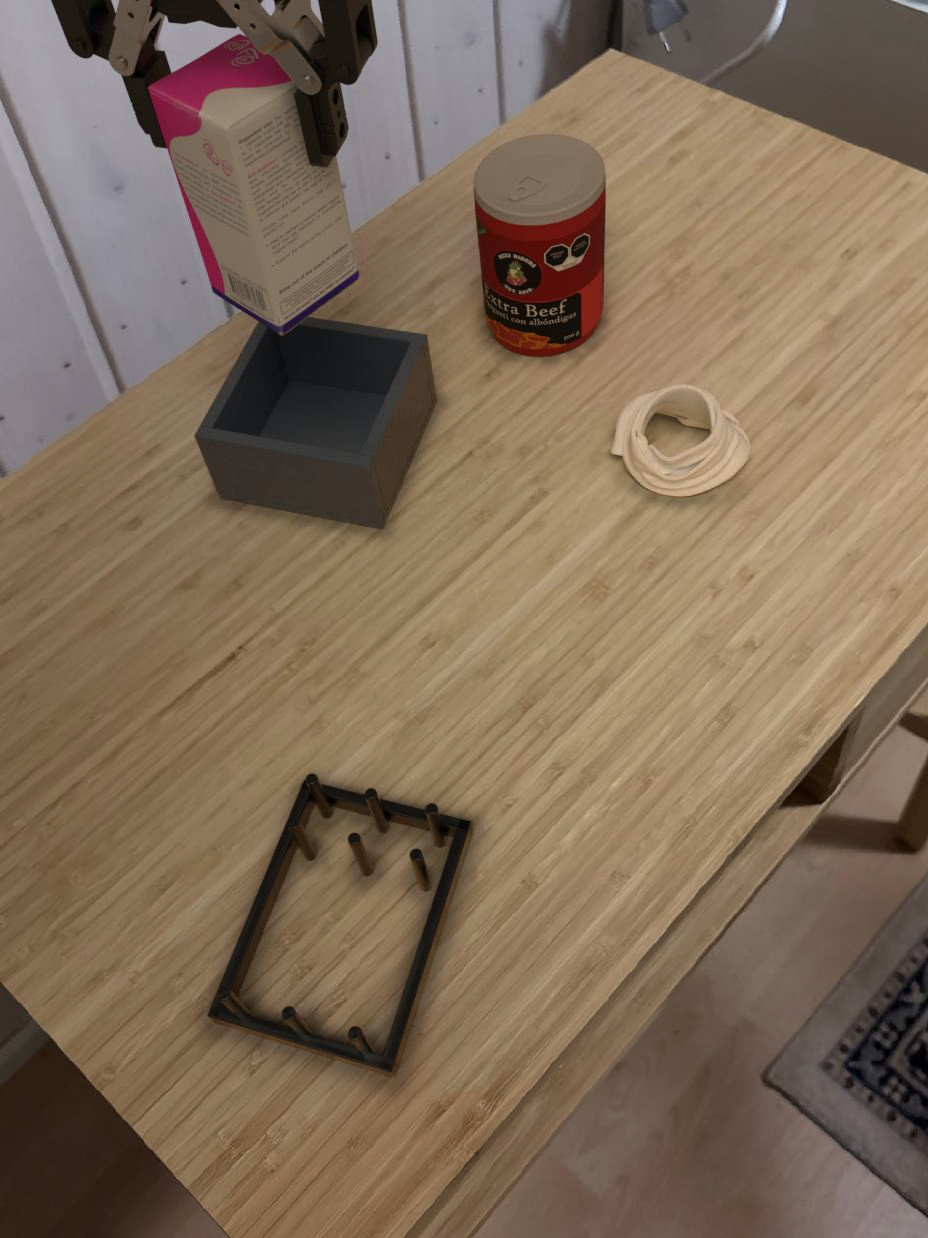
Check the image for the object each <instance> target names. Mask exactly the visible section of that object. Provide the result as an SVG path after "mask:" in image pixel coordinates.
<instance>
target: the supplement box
mask: <svg viewBox="0 0 928 1238" xmlns="http://www.w3.org/2000/svg"><path fill="white" fill-rule="evenodd" d="M297 89H298V87H297V86H296V85H295V83H294V82H293V81H292V80H291V78H290V77H289V76H288V75H287V73H286V72H285V71H284V70H283V69H282V67H281V66H280V65H279V64H278V62H277V61H276V60H275V59H274V58H273V57H272V56H271V55H264V54H261V53H260V52H259V51H258V50H257V49H256V48H255V47H254V45H253V44H252V43H251V42H250V41H249V39H248V38H247V37H246V36H245V34H243V33H238V34H235V35H234V36H232V37H230V38H228V39H227V40H225V41H223V42H222V43H219V45H217V46H215V47H213V48H212V49H210V50H209V51H207V52H205V53H204V54H203V55H201V56H199V57H197V58H196V59H193V60H192V61H191V62H189V63H187V64H185V65H183V66H182V67H180V68H178V69H176V70H174V71H172V72H171V74H169V75H167V76H166V77H164V78H162V79H160V80H158V81H157V82H155V83H153V84H151V85H150V86H149V87H148V90H149V94H150V97H151V100H152V103H153V106H154V109H155V112H156V115H157V118H158V122H159V125H160V128H161V131H162V134H163V137H164V140H165V143H166V147H167V148H166V150H167V152H168V156H169V159H170V162H171V165H172V168H173V172H174V175H175V176H176V177H175V178H176V180H177V184H178V186H179V190H180V192H181V197H182V199H183V202H184V205H185V208H186V211H187V215H188V218H189V220H190V224H191V227H192V230H193V233H194V237H195V239H196V243H197V245H198V248H199V249H198V250H199V251H200V255H201V258H202V261H203V264H204V267H205V270H206V271H205V272H206V273H207V276H208V281H209V284H210V287H211V291H212V293H213V294H214V295H216V296H218V297H219V298H221V299H222V300H224V301H225V302H227V303H228V304H231V305H232V306H233V307H234V308H236V309H237V310H239V311H241V312H242V313H244V314H246V315H247V316H249V317H251V318H253V319H254V320H255V321H257V322H260V323H262V324H263V325H265V326H267V327H268V328H270V329H271V330H273V331H275V332H276V333H277V334H279V335H281V336H283V335H284V334H285V333H287V332H289V331H290V330H291V329H293V328H294V327H295V326H297V325H298V324H299V323H301V322H302V321H303V320H304V319H306V318H307V317H311V316H312V314H313V313H315V312H317V311H318V310H319V309H320V308H322V307H323V306H324V305H326V304H327V303H328V302H330V301H331V300H332V299H334V298H335V297H337V296H338V295H339V294H341V293H342V292H344V291H345V290H347V289H348V288H349V287H350V286H352V285H353V284H354V283H355V282H357V280H359V278H360V272H359V266H358V261H357V255H356V251H355V245H354V239H353V235H352V229H351V223H350V220H349V215H348V209H347V204H346V199H345V193H344V189H343V184H342V179H341V174H340V169H339V168H340V167H339V162H338V159H337V158H338V157H337V155H336V156H334V157H333V159H332V161H331V163H330V164H329V166H328V167H327V168H325V167H316V166H311V165H310V163H309V160H308V155H307V151H306V146H305V142H304V138H303V133H302V129H301V124H300V120H299V115H298V111H297V106H296V102H295V98H294V93H295V92H296V90H297Z"/></svg>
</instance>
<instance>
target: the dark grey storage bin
mask: <svg viewBox="0 0 928 1238" xmlns="http://www.w3.org/2000/svg"><path fill="white" fill-rule="evenodd" d="M429 344H430V343H429V339H428V334H426V333H419V332H413V331H407V330H399V329H392V328H386V327H379V326H373V325H365V324H358V323H353V322H352V323H351V322H345V321H338V320H332V319H325V318H317V317H313V316H312V317H311V316H308V317H307V318H306V319H304V320H303V321H302V322H301V323H299V324H298V325H297V326H295V327H294V328H293V329H291V330H290V331H289V332H287V333H285V334H284V335H283V336H281V335H279V334H277V333H276V332H275V331H273V330H271V329H270V328H268V327H267V326H265V325H263V324H262V323H260V322H259V321H257V323H256V325H255V327H254V328H253V330H252V332H251V334H250V336H249V337H248V339H247V341H246V343H245V344H244V346H243V348H242V350H241V352H240V354H239V355H238V357H237V358H236V360H235V363H234V364H233V366H232V368H231V369H230V371H229V373H228V375H227V376H226V378H225V380H224V382H223V384H222V385H221V387H220V389H219V391H218V393H217V394H216V396H215V398H214V399H213V401H212V403H211V405H210V407H209V408H208V410H207V412H206V413H205V415H204V417H203V418H202V420H201V422H200V425H199V426H198V428H197V429H196V432H194V433H195V434H194V439H195V442H196V444H197V446H198V448H199V452H200V454H201V456H202V459H203V460H204V463H205V465H206V468H207V471H208V473H209V475H210V478H211V480H212V482H213V486H214V488H215V490H216V492H217V495H218V497H219V499H223V500H227V501H233V502H238V503H243V504H248V505H253V506H259V507H264V508H269V509H275V510H279V511H285V512H290V513H295V514H301V515H306V516H311V517H315V518H321V519H326V520H332V521H337V522H342V523H348V524H353V525H357V526H362V527H367V528H373V529H378V530H383V529H384V527H385V524H386V522H387V520H388V518H389V515H390V513H391V511H392V508H393V506H394V504H395V501H396V499H397V497H398V494H399V491H400V490H401V487H402V485H403V482H404V480H405V478H406V475H407V473H408V471H409V468H410V466H411V464H412V461H413V459H414V457H415V454H416V451H417V449H418V447H419V445H420V443H421V440H422V438H423V435H424V433H425V430H426V428H427V426H428V424H429V421H430V419H431V416H432V415H433V412H434V409H435V407H436V404H437V402H438V397H437V392H436V385H435V378H434V377H435V376H434V371H433V365H432V359H431V357H432V356H431V352H430V351H431V350H430V345H429Z"/></svg>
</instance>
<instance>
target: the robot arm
mask: <svg viewBox="0 0 928 1238" xmlns="http://www.w3.org/2000/svg"><path fill="white" fill-rule="evenodd" d="M263 1H264V0H118V4H117V6H116V7H117V8H116V10H115V7H114V4H113V1H112V0H50V2H51V4H52V6H53V9H54V12H55V14H56V16H57V19H58V22H59V24H60V27H61V30H62V32H63V35H64V37H65V40H66V43H67V45H68V47H69V49H70V50H71V51H72V53H73V54H74V55H76V56H77V57H79V58H81V59H85V60H87V59H90V58H92V57H93V55H94V56H96V57H98V58H101V59H103V60H105V61H107V62H109V64H110V66H111V68H112V69H113V70H114V71H115V72H116V73H117V74H119V75H120V76H121V78H122V81H123V84H124V88H125V89H126V92H127V95H128V98H129V101H130V103H131V107H132V110H133V112H134V115H135V118H136V121H137V124H138V125H139V127H140V128H141V130H142V131H143V133H144V134H145V135H149V137H150V140H151V143H152V145H153V147H155V148H159V149H167V147H166V143H165V140H164V137H163V134H162V131H161V128H160V125H159V122H158V118H157V115H156V112H155V109H154V106H153V103H152V100H151V97H150V94H149V90H148V87H149V86H150V85H151V84H153V83H155V82H157V81H158V80H160V79H162V78H164V77H166V76H167V75H169V74H171V73H172V70H171V67H170V63H169V60H168V57H167V54H166V51H165V50H159V49H156V47H155V46H156V45H157V43H158V41H159V38H160V34H161V31H162V28H163V25H164V21H165V18H166V19H167V22H168V24H179V25H188V24H192V23H196V22H202V23H205V24H209V25H212V26H214V27H217V28H224V29H235V30H236V29H237V28H239V30H240V31H241V32H242V34H243V35H244V36H246V37H247V38H248V39H249V41H250V42H251V43H252V44H253V45H254V47H255V48H256V49H257V50H258V51H259V52H260V53H261V54H264V55H271V56H272V57H273V58H274V59H275V60H276V61H277V62H278V64H279V65H280V66H281V67H282V69H283V70H284V71H285V72H286V73H287V75H288V76H289V77H290V78H291V80H292V81H293V82H294V83H295V85H296V86H297V87H298V89H297V90H296V92H295V93H294V98H295V102H296V106H297V111H298V115H299V120H300V124H301V129H302V133H303V138H304V142H305V146H306V151H307V155H308V160H309V163H310V165H311V166H316V167H325V168H327V167H328V166H329V164H330V163H331V161H332V159H333V157H334V156H336V157H337V156H338V154H339V152H340V150H341V149H342V147H343V146H344V143H345V141H346V139H347V138H348V133H349V129H350V127H349V122H348V116H347V112H346V108H345V107H346V106H345V105H346V104H345V101H344V96H343V89H342V85H344V86H351V85H354V84H356V83H357V81H358V79H359V78H360V76H361V74H362V71H363V69H364V67H365V66H366V64H367V62H368V61H369V59H370V57H372V55H373V54H374V53H375V51H376V50H377V48H378V44H379V43H378V40H379V39H378V35H377V27H376V20H375V13H374V7H373V0H317V2H318V8H319V14H320V19H321V20H320V19H319V17H318V16H317V15H316V14H315V12H314V11H313V9H312V2H311V1H312V0H273V2H274V11H273V13H271V15H270V13H268V11H267V10H266V9H265V8H264V7H263V5H262V3H263ZM341 84H342V85H341Z"/></svg>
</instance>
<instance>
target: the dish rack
mask: <svg viewBox="0 0 928 1238" xmlns="http://www.w3.org/2000/svg"><path fill="white" fill-rule="evenodd" d="M314 805H316V807H317V810H318V811H319V814H320V817H322V818H324V819H330V818H331V817H332V816H333V812H334V811H333V809H332V807H333V808H338V809H340V810H346V811H348V812H353V813H357V814H360V815H365V816H368V817H372V819H373V822H374V825H375V828H376V830H377V832H378V833H381V834H385V833H386V832H388V831H389V828H390V825H389V822H393V823H396V824H400V825H404V826H409V827H412V828H415V829H420V830H424V831H427V832H430V833H431V837H432V840H433V843H434V846H435V847H436V848H444V847H445V846H446V844H447V837H451V838H452V841H451V845H450V847H449V850H448V854H447V857H446V859H445V863H444V865H443V869H442V872H441V875H440V878H439V881H438V885H437V887H436V890H435V894H434V897H433V900H432V903H431V906H430V909H429V911H428V915H427V918H426V921H425V924H424V927H423V930H422V933H421V936H420V939H419V942H418V946H417V949H416V952H415V955H414V957H413V961H412V964H411V967H410V970H409V973H408V976H407V978H406V983H405V986H404V989H403V991H402V995H401V998H400V1001H399V1004H398V1007H397V1010H396V1013H395V1016H394V1019H393V1022H392V1025H391V1029H390V1031H389V1035H388V1038H387V1040H386V1044H385V1047H384V1050H383V1053H382V1054H381V1053H377V1052H376V1050H375V1049H374V1047H373V1046H372V1044H371V1042H370V1041H369V1039H368V1038H367V1036H366V1035H365V1033H364V1032H363V1030H362V1028H361V1027H359V1026H358V1025H353V1026H351V1027H350V1028H349V1029H348V1031H347V1037H348V1039H349V1040H350V1042H351V1043H352V1044H348V1043H345V1042H341V1041H339V1040H335V1039H332V1038H328V1037H325V1036H322V1035H318V1034H316V1033H314V1032H313V1031H312V1030H311V1028H310V1027H309V1026H308V1024H307V1023H306V1022H305V1020H304V1019H303V1017H301V1015H300V1014H299V1012H298V1010H296V1008H295V1007H294V1006H291V1005H287V1006H284V1007H283V1009H282V1010H281V1018H282V1019H283V1020H284V1021H285V1022H286V1024H287V1025H286V1024H283V1023H281V1022H276V1021H274V1020H270V1019H266V1018H263V1017H259V1016H256V1015H253V1013H252V1012H251V1011H250V1010H249V1009H248V1007H247V1006H246V1005H245V1004H244V1003H243V1002H242V1001H241V1000H240V998H239V997H238V994H239V992H240V989H241V988H242V985H243V983H244V980H245V978H246V975H247V973H248V970H249V967H250V965H251V962H252V960H253V958H254V955H255V952H256V951H257V948H258V945H259V942H260V940H261V938H262V935H263V932H264V929H266V928H265V927H266V925H267V922H268V921H269V917H270V915H271V912H272V910H273V907H274V905H275V902H276V900H277V897H278V896H279V893H280V890H281V888H282V886H283V883H284V880H285V877H286V876H287V873H288V871H289V868H290V865H291V862H292V860H293V858H294V855H295V853H296V850H297V847H298V848H299V850H300V852H301V854H302V856H303V858H304V859H305V860H306V861H308V862H309V861H310V862H312V861H313V860H315V859H316V857H317V851H316V849H315V848H314V846H313V843H312V841H311V839H310V838H309V836H308V834H307V832H306V829H305V827H306V826H307V823H308V820H309V817H310V815H311V813H312V810H313V808H314ZM388 821H389V822H388ZM473 834H474V827H473V822H472V820H468V819H465V818H459V817H455V816H452V815H448V814H444V813H440V810H439V807H438V805H437V804H436V803H433V802H429V803H428V804H426V806H425V808H424V809H423V808H419V807H416V806H412V805H406V804H403V803H400V802H395V801H391V800H387V799H385V798H384V799H383V798H380V796H379V794H378V791H377V789H375V788H374V787H369V788H367V789H366V790H365V791H364V794H363V793H360V792H355V791H352V790H347V789H343V788H339V787H335V786H332V785H327V784H323V783H321V782H320V779H319V777H318V775H317V774H316V773H312V772H311V773H308V774H307V775H306V777H305V779H303V781H302V784H301V786H300V788H299V791H298V793H297V795H296V798H295V800H294V803H293V805H292V808H291V810H290V813H289V815H288V817H287V820H286V822H285V824H284V827H283V830H282V832H281V834H280V837H279V838H278V839H279V840H278V842H277V844H276V847H275V849H274V852H273V853H272V857H271V859H270V862H269V863H268V867H267V868H266V871H265V874H264V876H263V879H262V881H261V882H260V885H259V888H258V891H257V892H256V895H255V897H254V900H253V903H252V905H251V907H250V910H249V913H248V914H247V917H246V919H245V922H244V924H243V926H242V929H241V932H240V934H239V936H238V939H237V942H236V944H235V947H234V949H233V951H232V953H231V956H230V959H229V961H228V964H227V966H226V968H225V971H224V973H223V976H222V978H221V981H220V983H219V985H218V988H217V989H216V992H215V995H214V997H213V999H212V1003H211V1004H210V1007H209V1009H208V1012H207V1017H208V1018H209V1019H210V1020H211V1021H212V1022H213V1023H214V1024H217V1025H221V1026H224V1027H227V1028H230V1029H233V1030H236V1031H240V1032H243V1033H247V1034H250V1035H254V1036H257V1037H260V1038H263V1039H266V1040H270V1041H272V1042H275V1043H278V1044H282V1045H285V1046H288V1047H291V1048H295V1049H299V1050H301V1051H305V1052H308V1053H312V1054H315V1055H318V1056H321V1057H324V1058H328V1059H331V1060H334V1061H337V1062H340V1063H344V1064H347V1065H350V1066H353V1067H357V1068H360V1069H364V1070H366V1071H369V1072H373V1073H376V1074H378V1075H379V1074H380V1075H382V1076H386V1077H389V1078H392V1079H395V1078H396V1076H397V1072H398V1070H399V1066H400V1063H401V1060H402V1057H403V1054H404V1051H405V1048H406V1044H407V1041H408V1039H409V1035H410V1032H411V1029H412V1026H413V1022H414V1020H415V1016H416V1013H417V1010H418V1006H419V1003H420V1000H421V998H422V994H423V991H424V988H425V986H426V982H427V978H428V975H429V973H430V970H431V966H432V962H433V960H434V957H435V953H436V950H437V947H438V944H439V941H440V938H441V935H442V931H443V929H444V925H445V922H446V918H447V915H448V912H449V909H450V906H451V903H452V899H453V897H454V893H455V890H456V887H457V884H458V880H459V878H460V875H461V871H462V868H463V865H464V861H465V860H466V855H467V852H468V849H469V847H470V843H471V840H472V837H473ZM446 836H447V837H446ZM347 843H348V845H349V847H350V849H351V851H352V854H353V856H354V859H355V861H356V863H357V866H358V868H359V870H360V873H361V874H362V875H363V876H365V877H369V876H371V875H372V874H373V872H374V865H373V864H372V861H371V859H370V856H369V854H368V851H367V849H366V847H365V844H364V842H363V839H362V837H361V835H360V834H359V833H358V832H352V833H350V834H349V835H348V836H347ZM409 860H410V863H411V865H412V868H413V871H414V874H415V878H416V881H417V884H418V885H419V889H420V890H421V891H422V892H425V893H426V892H427V893H428V892H429V891H430V890H431V889H432V887H433V883H432V879H431V876H430V874H429V870H428V866H427V864H426V863H427V862H426V860H425V857H424V853H423V851H422V850H421V849H420V848H418V847H417V848H413V849H411V850H410V852H409Z"/></svg>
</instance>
